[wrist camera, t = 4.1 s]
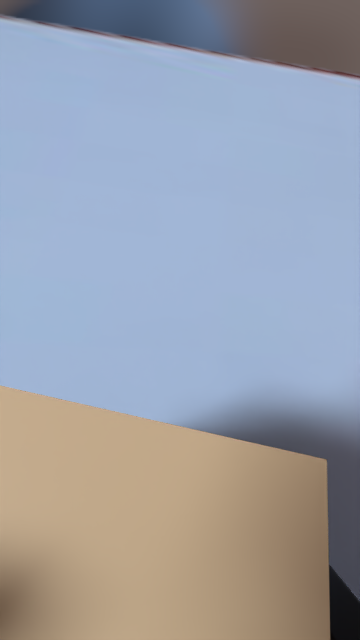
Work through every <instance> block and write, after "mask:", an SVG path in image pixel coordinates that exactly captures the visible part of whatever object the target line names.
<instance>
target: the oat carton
mask: <svg viewBox="0 0 360 640" xmlns="http://www.w3.org/2000/svg"><path fill="white" fill-rule="evenodd" d="M0 640H330V601H329V548H328V495H327V460H326V459H322V458H318V457H313V456H309V455H304V454H300V453H296V452H291V451H287V450H282V449H278V448H273V447H269V446H265V445H260V444H256V443H251V442H247V441H243V440H238V439H234V438H229V437H225V436H221V435H216V434H212V433H207V432H203V431H198V430H194V429H190V428H185V427H181V426H176V425H172V424H168V423H163V422H159V421H154V420H150V419H145V418H141V417H137V416H132V415H128V414H123V413H119V412H115V411H110V410H106V409H101V408H97V407H92V406H88V405H84V404H79V403H75V402H70V401H66V400H62V399H57V398H53V397H48V396H44V395H39V394H35V393H31V392H26V391H22V390H17V389H13V388H9V387H4V386H0Z"/></svg>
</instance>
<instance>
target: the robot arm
mask: <svg viewBox="0 0 360 640" xmlns="http://www.w3.org/2000/svg"><path fill="white" fill-rule="evenodd" d="M329 601H330V640H360V601H359V600H358V599H357V598H356V596H355V595H354V594H353V593H352V592H351V590H350V589H349V588H348V587H347V585H346V584H345V583H344V582H343V581H342V579H341V578H340V577H339V576H338V574H337V573H336V572H335V571H334V570H333V568H332V567H331V566H330V565H329Z"/></svg>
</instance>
